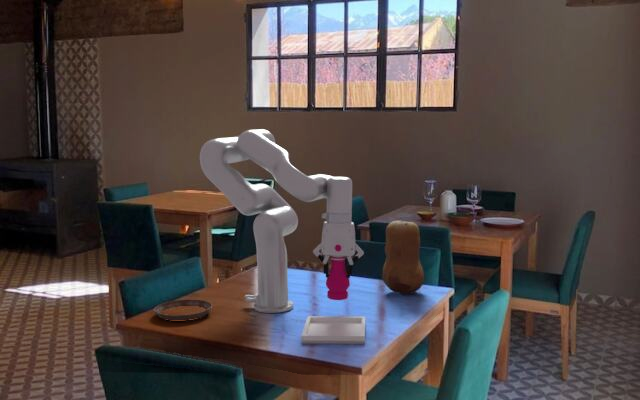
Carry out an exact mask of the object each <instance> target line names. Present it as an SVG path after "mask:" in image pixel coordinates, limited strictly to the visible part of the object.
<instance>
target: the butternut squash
mask: <svg viewBox="0 0 640 400" xmlns="http://www.w3.org/2000/svg"><path fill="white" fill-rule="evenodd" d="M419 228H420V227H419V225H417V224H416V223H415V222H413V221H405V220H398V219H397V220H393V221H391V222H390V223H388V225H386V229H385V246H384V252H385V255H386V258H385V262H384V264H383V267H382V278H381V279H382V281H383V283H384V284H385V285H386V287H387V288H388V289H389V290H390V291H392V292H395V293H398V294H401V295H402V296H404V295H405V296H407V295H411V294H413V293H416V292H417V291H419V290H420V288H421V287H422V286H423V283H424V280H425V279H424V277H425V275H424V269H423V266H422V264H421V261H420V256H419V255H420V250H421V237H420V229H419Z"/></svg>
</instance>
